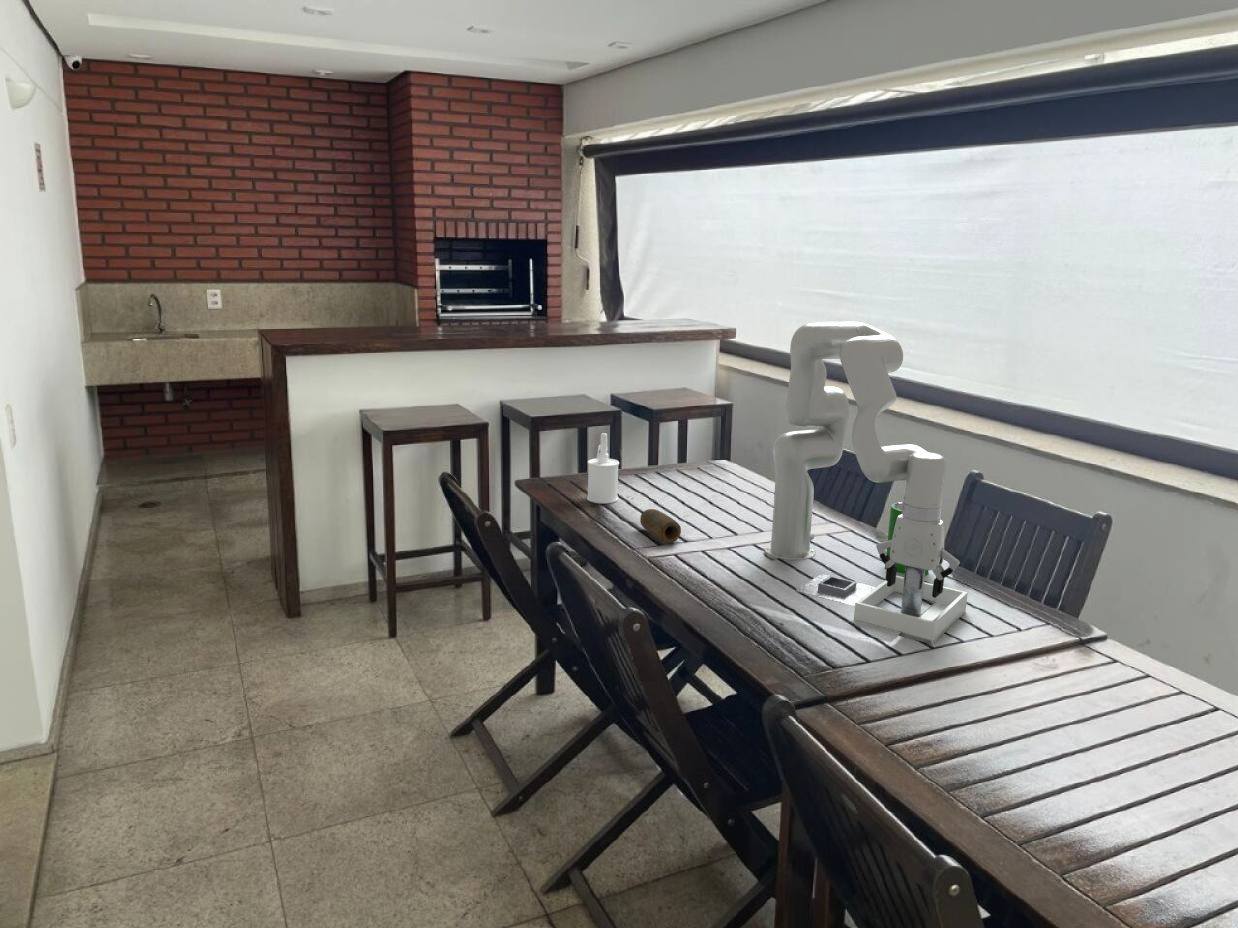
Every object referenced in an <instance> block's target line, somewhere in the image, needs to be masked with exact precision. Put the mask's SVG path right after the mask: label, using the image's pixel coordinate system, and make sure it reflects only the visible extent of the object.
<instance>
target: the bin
mask: <svg viewBox="0 0 1238 928" xmlns="http://www.w3.org/2000/svg"><path fill="white" fill-rule="evenodd" d="M903 586H904V577H903V576H901V575H896V581H895V584H893V585H892V586H890V587H888V586H887V581H886V579H885V580H884V581H883V582H882V583H879V584H878V585H877V586H875V587H876V588H875V589H873V590H872V591H871V592H869V593H868V594H867V595H865V596H864V597H862V598H861V599H860V600H858V601H857V602H856V603H855V606H854V611H853V612H854V613H853V620H856V621H860V622H865V623H868V624H871V625H875V626H878V627H879V626H880V627H883V628H887V629H891V630H894V631H898V632H900V633H899V634H898V636H900V637H904V638H908V639H911V640H915V641H918V642H921V643H922V642H923V643H926V644H930V645H934V644H935V643H936V642H937V641H938V640H939V639H940V637H941V636H943V634H945V633H946V632H947V631H948V630H949V629H950V628H951V627H952V626H953V625H954V624H955V623H956V621H958V620H959V619H960V618H961V617H962V616H963V615H964V614H965V613H966V611H967V610H966V609H967V602H968V593H969V592H968V591H964V590H960V589H955V588H951V587H947V586H943V591H942V593H941V594H939V595H938V596H937V597H936V598H934V597H932V592H933V583H929V582H925V581H924V586H923V595H922V600H923V599H924V600H927V601H932V602H933V604H931V605H930V606H929V607H928V608H927V609H926V610H924V611H923V613H922V612H921V614H920V616H918V617H914V616H910V615H907V614H903V613H901V612H899V611H895V610H891V609H888V608H882V607H879V606H877V605H879V603H880V602H883V600H884V599H886V598H887V597H888V596H890V595H891V594H893V593H899V594H902V595H903Z"/></svg>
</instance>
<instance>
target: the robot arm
mask: <svg viewBox="0 0 1238 928" xmlns="http://www.w3.org/2000/svg"><path fill="white" fill-rule="evenodd" d="M789 352H790V353H789V355H790V372H789V373H790V374H789V381H788V387H787V393H786V401H785V402H786V403H785V409H784V412H785V413H784V414H785V420H786V422H788V424H789V425H791V426H793V427H796V428H812V427H817V429H802V430H794V431H792V430H791V431H787V432H785V433H782V434H780V435H779V436H778V437H777V438H776V439H775V441H774V444H773V447H772V450H773V451H772V452H773V453H772V454H773V456H772V457H773V462H774V476H775V477H774V478H775V479H774V494H773V495H774V497H773V510H772V525H771V526H772V527H771V539H770V544H768V545H766V546H765V547H764V548H763V549H764V550H763V551H764V554H765V556H766V557H768V558H770V559H771V560H777V559H781V560H789V561H791V560H792V561H800V560H809V559H812V558H813V557H815V556H816V552H815V550H814V549H813V548H811V547H810V546H811V541H812V540H814V539H815V535H814V533H813V532H812V520H813V519H812V518H813V506H814V494H815V493H814V492H815V491H814V490H815V489H814V482H813V481H812V479H811V477H810V474H809V473H808V470H811V469H812V470H813V469H819V468H822V469H823V468H829V467H832V466H834V465H836V464H837V463H838V462H839V461H840V459H841V458H842V456H843V453H844V448H845V447H844V446H845V440H846V434H847V429H848V422H849V419H850V418H849V416H850V404H849V403H850V402H849V399H848V396H847V394H846V393H845V391H843V389H841V388H839V387H837V386H831V385H830V386H829V385H828V386H826V381H827V376H828V374H827V368H826V365H825V363H824V361H823V360H840V363H841V366H842V368H843V371H844V374H845V377H846V379H847V382H848V384H849V387H850V389H851V393H852V396H853V398H854V402H855V404H856V406H857V413H856V415H855V418H854V421H853V425H852V426H853V427H852V434H851V441H852V443H851V444H852V448H853V451H854V454H855V457H856V459H857V462H858V465H859V467H860V469H861V471H862V473H863V474H864V476H865V478H867V479H868V480H869V481H870V482H873V483H878V484H879V483H890V482H898V481H905V485H904V486H905V487H904V495H903V501H902V502H896V503H897V505H896V508H897V509H899V510H901V511H902V513H901V515H899V516H898V518H897V521H896V524H895V528H894V532H893V537H892V540H889V541H887V540H885V541H883V542H879V543H877V545H875V547H876V550H877V552H878V554H879V559H880V560H881V562H882V563H883V565H884V568H885V567H886V568H887V570H886V569H885V570H886V572H885V580H886V581H887V586H888V587H890V586H892V585H893V584H895V581H896V576H897V572H896V571H897V567H896V565H895V563H898V564H902V565H906V566H910V567H915V568H919V569H924V570H929V571H931V572H932V573H933V575H934V576H935V578H934V579H933V583H932V584H933V592H932V597H934V598H936V597H937V596H938V595H939V594H941V593H942V591H943V587H944V581H945V578H947V577H948V576H949V575H952V573H954V571H955V570H956V569H957V567H958V566H959V565H960V560H959V559H958V558H956V557H955V556H954V555H952V554H951V553H950V552H948V551H947V550H945V529H944V521H943V520H942V519H941V514H942V505H943V504H942V503H943V498H944V497H943V496H944V495H943V494H944V487H945V478H946V470H947V461H946V458H945V457H944V456H943V455H941V454H939V453H936V452H935V453H934V452H929V451H927V450H925V449H924V448H923V447H921V446H919V445H916V444H910V443H909V444H907V443H906V444H895V445H884V446H881V443H880V440H879V439H878V435H877V433H876V419H877V418H878V415H879V414H881V413H882V412H884V411H886V410H887V409H889V408H891V406H893V404H894V403H895V402H896V400H897V392H896V390H895V388H894V385H893V383H892V381H891V378H890V375H889V374H891V373H894V372H896V371H898V370H899V369H900V368H901V366H902V365H903V361H904V352H903V347H902V346H901V344H900V342H899V341H898V340H897V338H895V337H894V336H892V335H891V334H889V333H886V332H885V331H883V330H880V329H878V328H876V327H874V326H872V325H869V324H866V323H864V322H861V321H820V322H811V323H806V324H803V325H801V326H800V327H798V328H797V329H796V331H795V332H794V333H793V335H792V337H791V341H790V349H789ZM888 547H891V548H890V556H889V555H888V554H887V553H886V550H887V548H888ZM944 561H946V562H947V563H949V566H948V567H947V568H946V569H945V568H944V567H943V565H942V564H943V562H944Z"/></svg>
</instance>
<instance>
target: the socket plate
mask: <svg viewBox="0 0 1238 928" xmlns="http://www.w3.org/2000/svg"><path fill="white" fill-rule="evenodd" d="M876 587H877V586H873V585H870V584H865V583H862V582H861V583H860V582H857V581H854V580H849V579H845V578H843V577H841V578H840V577H837V576H833V575H829V574H823V573H820V574H818V575H817V576H815V577H814V578H812V579H811V580H809V581H807V582H806V583H805V584H803V585H801V586H799V587H798V588H797V589H795V590H794V591H795V592H798V593H801V594H806V595H809V596H813V597H818V598H821V599H826V600H828V601H833V602H838V603H840V604H841V603H842V604H845V605H848V606H853V607H855V603H856V602H857V601H858V600H860V599H861V598H862V597H864V596H865V595H867V594H868V593H869V592H871V591H872V590H873V589H875V588H876Z"/></svg>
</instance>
